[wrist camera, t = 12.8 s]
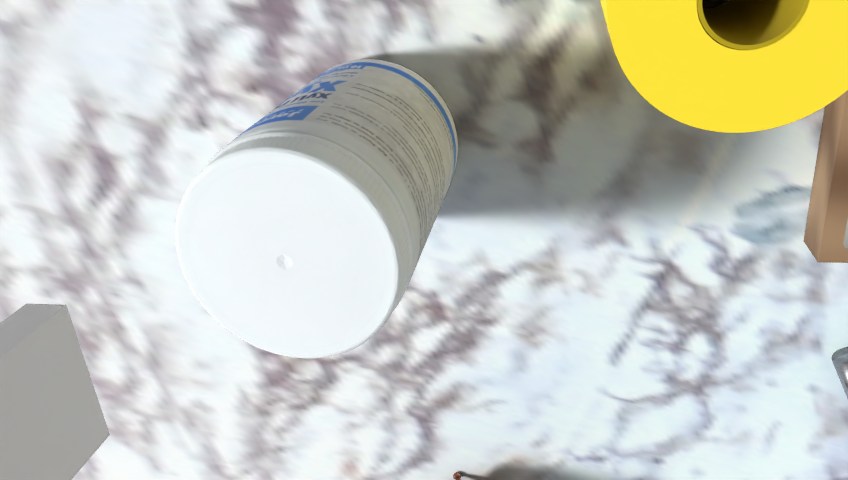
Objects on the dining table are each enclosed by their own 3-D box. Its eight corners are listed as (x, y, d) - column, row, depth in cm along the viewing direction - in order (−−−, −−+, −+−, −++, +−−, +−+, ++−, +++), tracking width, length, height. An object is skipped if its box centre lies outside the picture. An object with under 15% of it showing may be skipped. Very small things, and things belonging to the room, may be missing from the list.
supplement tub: (347, 20, 38) (229, 85, 25) (495, 121, 39) (456, 235, 26) (269, 161, 42) (134, 280, 29) (403, 249, 43) (331, 402, 30)
